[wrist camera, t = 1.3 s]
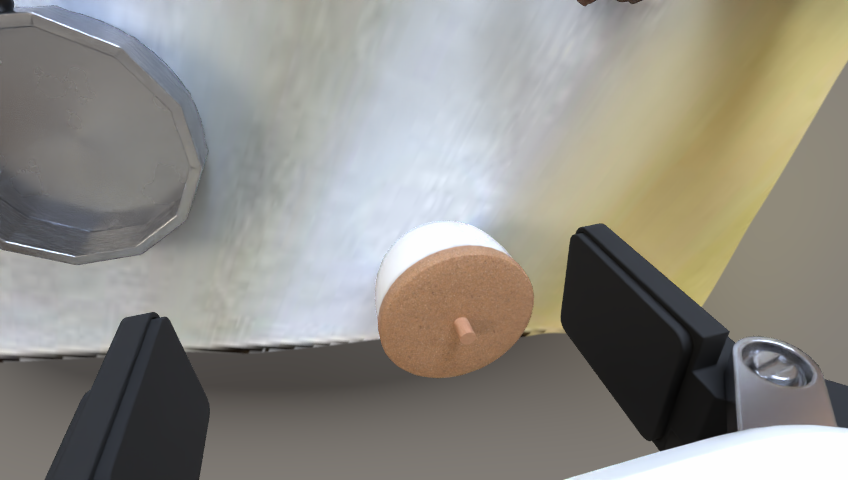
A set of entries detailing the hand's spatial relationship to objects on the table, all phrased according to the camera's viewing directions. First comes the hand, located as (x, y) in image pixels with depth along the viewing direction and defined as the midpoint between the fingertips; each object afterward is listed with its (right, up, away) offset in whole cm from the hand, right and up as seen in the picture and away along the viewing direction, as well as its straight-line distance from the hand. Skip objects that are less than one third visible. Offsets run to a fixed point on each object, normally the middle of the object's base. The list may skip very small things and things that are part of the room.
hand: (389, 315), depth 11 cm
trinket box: (+1, 0, +26) cm, 26 cm away
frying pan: (-19, +12, +13) cm, 26 cm away
